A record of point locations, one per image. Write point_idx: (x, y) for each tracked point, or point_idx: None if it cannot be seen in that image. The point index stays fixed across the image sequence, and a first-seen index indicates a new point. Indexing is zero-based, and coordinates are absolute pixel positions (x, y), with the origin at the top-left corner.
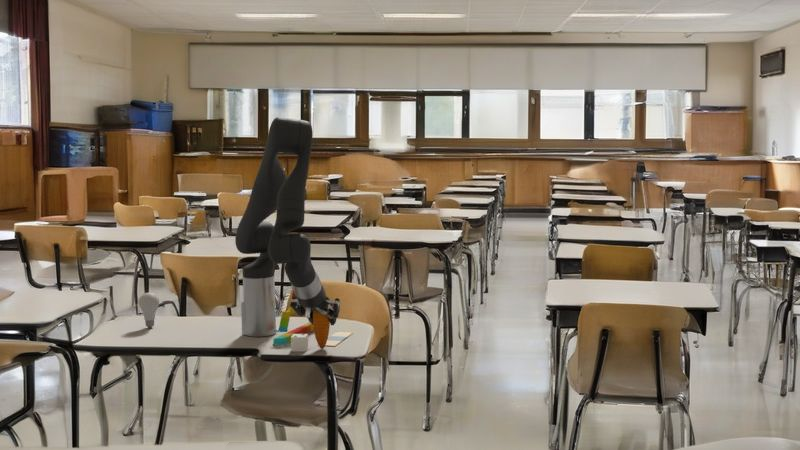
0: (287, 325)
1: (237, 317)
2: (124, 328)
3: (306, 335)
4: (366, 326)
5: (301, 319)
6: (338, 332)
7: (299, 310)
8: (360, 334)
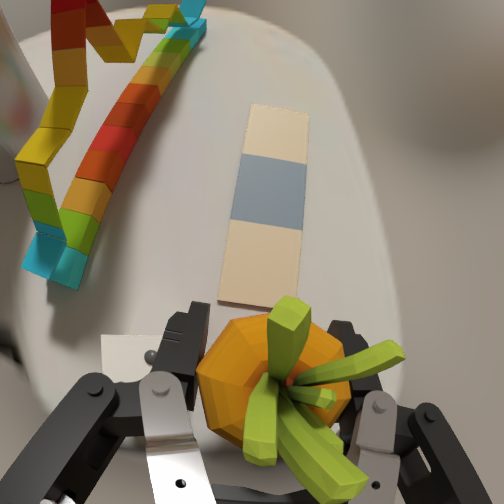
0: (57, 222)
1: (21, 44)
2: None
3: None
4: (318, 57)
5: (136, 18)
6: (258, 110)
7: (99, 475)
8: (335, 128)
